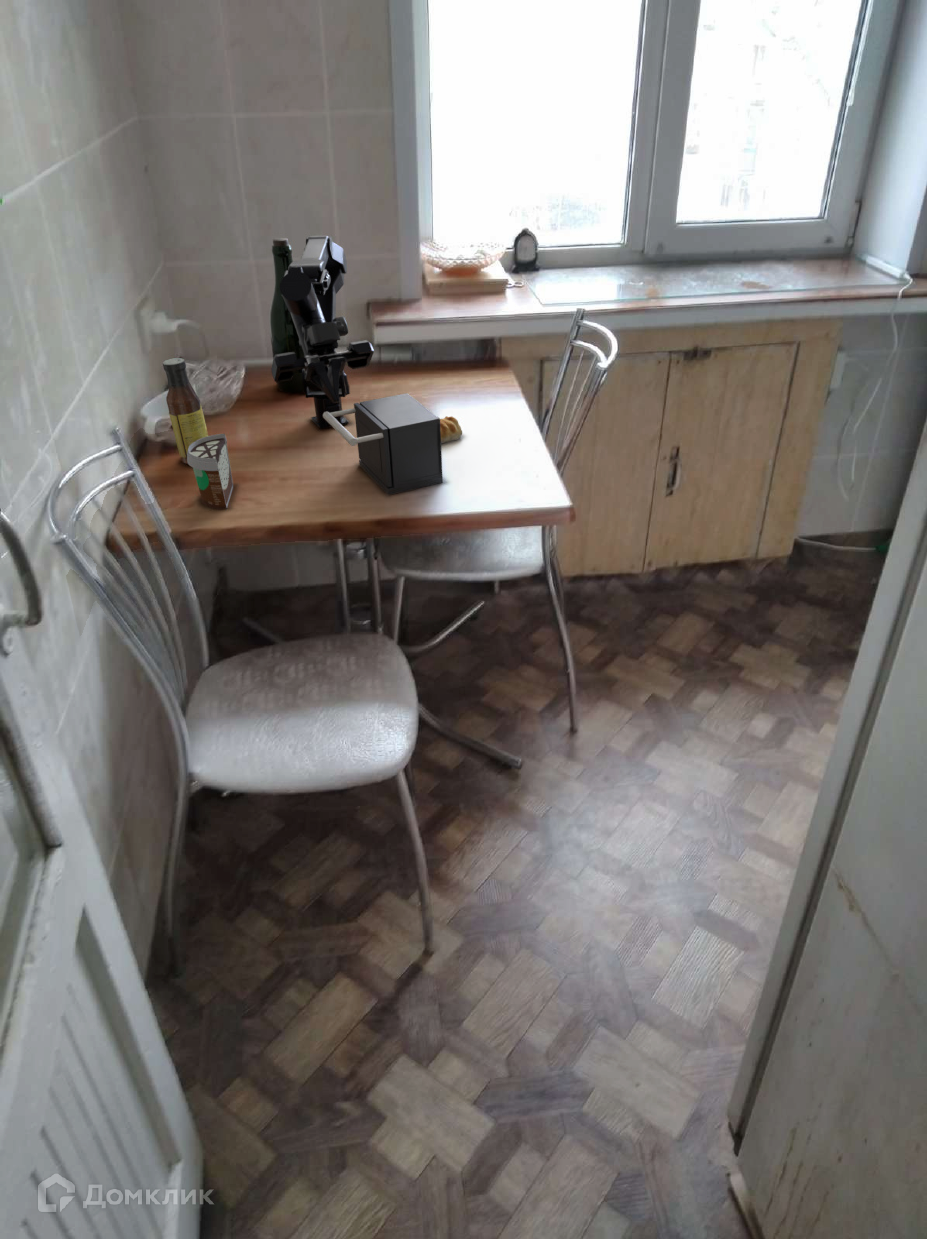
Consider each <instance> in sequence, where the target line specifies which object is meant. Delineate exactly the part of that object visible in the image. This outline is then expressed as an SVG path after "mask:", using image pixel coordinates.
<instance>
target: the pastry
mask: <svg viewBox="0 0 927 1239" xmlns="http://www.w3.org/2000/svg"><path fill="white" fill-rule="evenodd" d="M440 431H441V444H444V443H448V442H452V441H456V440H459V439H460V438H461V436H462V435H463V429H462V427H461V425H460V424H459V420H458V419H457V418H456V417H454V416H452V415H451V416H445V417H444V418H440Z"/></svg>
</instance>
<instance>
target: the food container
mask: <svg viewBox="0 0 927 1239" xmlns="http://www.w3.org/2000/svg"><path fill="white" fill-rule="evenodd" d="M187 463H188V464H187V465H189V466H190V467H191V468H192V470H193V473H194V477H195V480H196V484H197V487H198V490H199V494H200V497H201V502H202V504H203V505H204V506H207V507H209V508H212V509H220V510H222V509H224V510H225V509H228V506H229V503H230V499H231V495H232V492H233V490H234V482H233V481H234V480H233V476H232V474H233V473H232V468H231V464H230V456H229V450H228V441H227V436H226V433H219V434H212V435H208V436H207V437H204V438H201V439H199V440H197V441H195V442H193V443H192V444H191V445H190V446H189V448H188V452H187Z"/></svg>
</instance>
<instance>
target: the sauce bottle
mask: <svg viewBox="0 0 927 1239" xmlns="http://www.w3.org/2000/svg"><path fill="white" fill-rule="evenodd" d="M162 367H163V370H164V371H165V374H166V378H167V385H168V389H167V395H166V397H165V400H166V405H167V409H168V414H169V418H170V419H169V420H170V422H171V427H172V430H173V431H172V432H173V434H174V438H175V443H176V446H177V450H178V454H179V456H180V459H181V462H182V463H183V464H186V465H189V464H188V463H187V452H188V448H189V446H190V445H191V444H192V443H193V442H195V441H197V440H199V439H201V438H204V437H207V436H209V432H208V428H207V424H206V420H205V415H204V411H203V407H202V403H201V400H200V398H199V396H198V395H197V394H198V393H196V391H195V389H194V387H193V385H192V384H191V382H190V380H189V376H188V372H187V364H186V361H185V359H184V358H180V357H174V358H169V359H166V360H164V361H163V362H162Z"/></svg>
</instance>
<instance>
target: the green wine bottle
mask: <svg viewBox="0 0 927 1239" xmlns="http://www.w3.org/2000/svg"><path fill="white" fill-rule="evenodd" d="M270 251H271V256H272V261H273V262H272V263H273V272H274V286H273V293H272V298H271V302H270V307H269V314H268V324H269V325H268V326H269V336H270V344H271V350H272V351H271V352H272V353H271V354H272V359H273V358H274V357H275V355H277V354H283V353H289V352H294V353H295V354H296V357H297V359H298V358H305V355H304V352H303V349H302V346H301V347H300V344H299V337H298V334H297V331H296V328H295V325H294V322H293V319H292V316H291V313H290V311H289V310H288V307H287V305H286V303H285V301H284V298H283V296H282V294H281V292H280V287H279V286H280V283H281V280H282V279H283V277H284V275H285V272H286V271H288V267H289V265H290V264H291V263H292V262H293V261H294V259H293V247H292V245H291V244H290V243H289V238H287V237H276V238H275V237H274V238H273V239H272V245H271V250H270ZM275 383H276V388H278V389H279V390H280V391H282V392H284V393H287V394H303V393H304V394H305V392H304V387H303V383H302V369H299V370H293V377H292V378H291V380H288V381H282V382H275Z"/></svg>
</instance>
